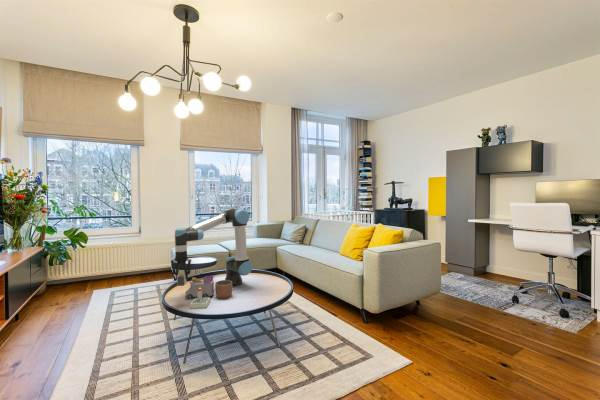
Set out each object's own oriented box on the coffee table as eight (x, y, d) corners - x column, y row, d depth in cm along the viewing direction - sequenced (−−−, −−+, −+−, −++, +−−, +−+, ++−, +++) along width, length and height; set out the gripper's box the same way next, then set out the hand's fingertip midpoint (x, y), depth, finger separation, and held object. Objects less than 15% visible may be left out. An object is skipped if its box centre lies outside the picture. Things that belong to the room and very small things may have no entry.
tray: (210, 302, 204) (210, 297, 204) (206, 308, 194) (206, 303, 194) (195, 303, 203) (194, 297, 203) (190, 309, 193) (190, 303, 193)
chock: (186, 283, 203) (185, 274, 203) (183, 285, 198) (183, 277, 198) (180, 283, 203) (179, 275, 203) (177, 285, 198) (177, 277, 198)
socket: (208, 299, 209) (208, 296, 209) (207, 302, 204) (206, 299, 204) (200, 300, 209) (200, 296, 209) (198, 302, 204) (198, 299, 204)
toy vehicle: (188, 295, 219) (188, 275, 219) (214, 294, 221) (214, 275, 220) (184, 299, 210) (184, 279, 209) (212, 298, 211) (211, 278, 211)
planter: (223, 301, 206) (223, 286, 206) (211, 298, 213) (211, 283, 213) (236, 295, 217) (235, 281, 217) (224, 292, 223) (224, 279, 223)
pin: (203, 303, 200) (203, 286, 200) (202, 306, 196) (201, 288, 196) (198, 304, 200) (197, 287, 199) (196, 306, 196) (196, 288, 196)
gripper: (195, 249, 204) (196, 282, 205) (170, 250, 203) (171, 282, 204) (192, 251, 197) (192, 285, 198) (166, 252, 196) (167, 286, 196)
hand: (181, 284), depth 201 cm, fingers closed on chock, 4 cm apart
